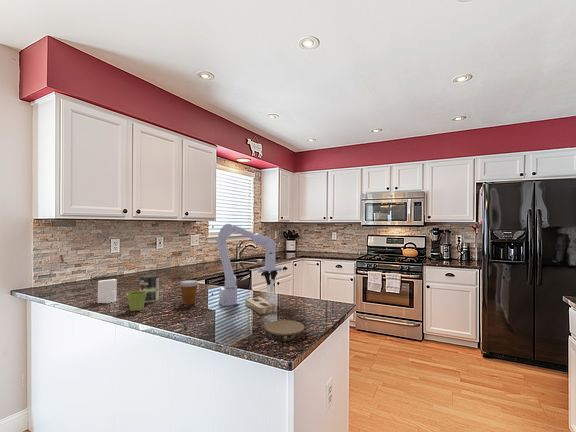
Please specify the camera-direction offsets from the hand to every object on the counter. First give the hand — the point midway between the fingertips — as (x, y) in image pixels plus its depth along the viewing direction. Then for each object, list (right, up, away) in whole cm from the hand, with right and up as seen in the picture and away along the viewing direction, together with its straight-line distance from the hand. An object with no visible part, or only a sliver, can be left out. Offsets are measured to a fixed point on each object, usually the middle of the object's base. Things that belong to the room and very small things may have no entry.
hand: (270, 284), depth 169 cm
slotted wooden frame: (-4, -10, -13) cm, 16 cm away
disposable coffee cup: (-45, -10, -3) cm, 46 cm away
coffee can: (-70, -10, +3) cm, 71 cm away
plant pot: (-67, -9, -17) cm, 70 cm away
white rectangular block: (-92, -10, -1) cm, 93 cm away
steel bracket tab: (0, -4, 0) cm, 4 cm away
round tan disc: (+9, -9, -49) cm, 50 cm away
